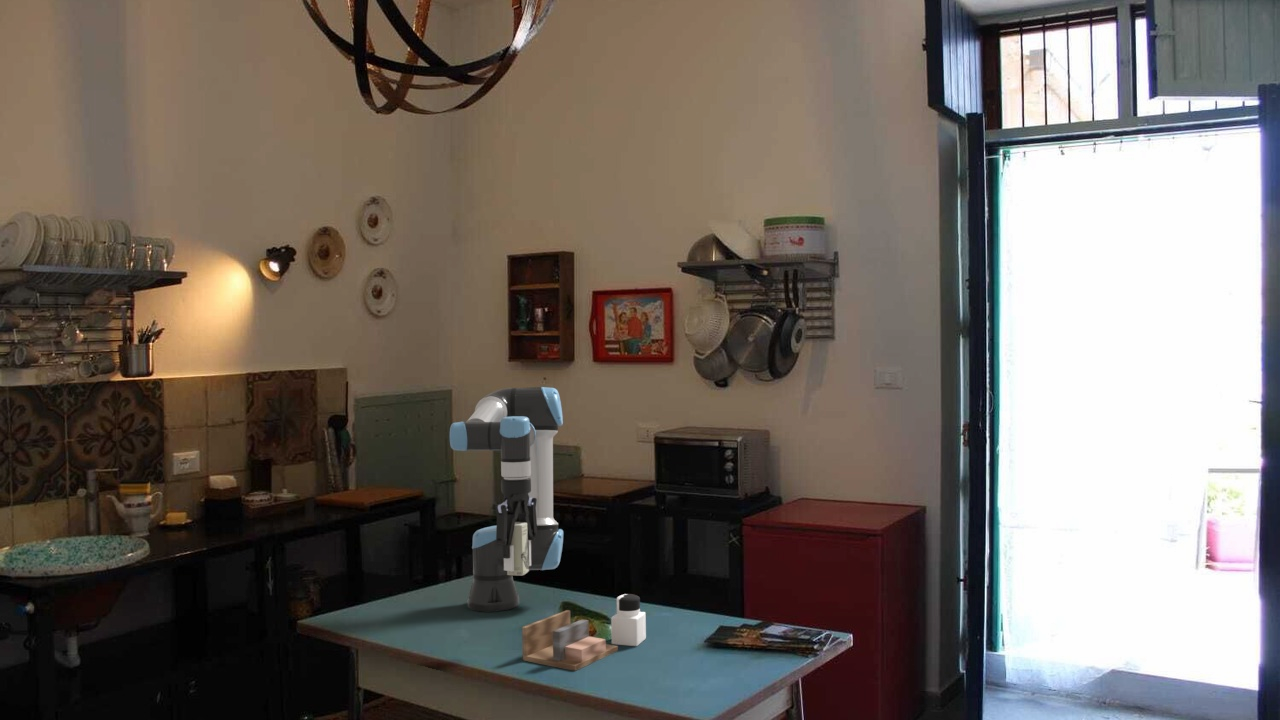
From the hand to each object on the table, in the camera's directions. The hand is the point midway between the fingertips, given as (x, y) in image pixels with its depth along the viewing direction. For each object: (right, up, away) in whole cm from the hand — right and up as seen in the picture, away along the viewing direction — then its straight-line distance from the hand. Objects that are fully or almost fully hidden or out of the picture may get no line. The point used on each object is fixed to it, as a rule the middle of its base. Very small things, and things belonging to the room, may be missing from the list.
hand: (517, 567), depth 261 cm
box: (0, -2, 0) cm, 2 cm away
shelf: (+14, -21, -6) cm, 26 cm away
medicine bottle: (+28, -20, +5) cm, 35 cm away
